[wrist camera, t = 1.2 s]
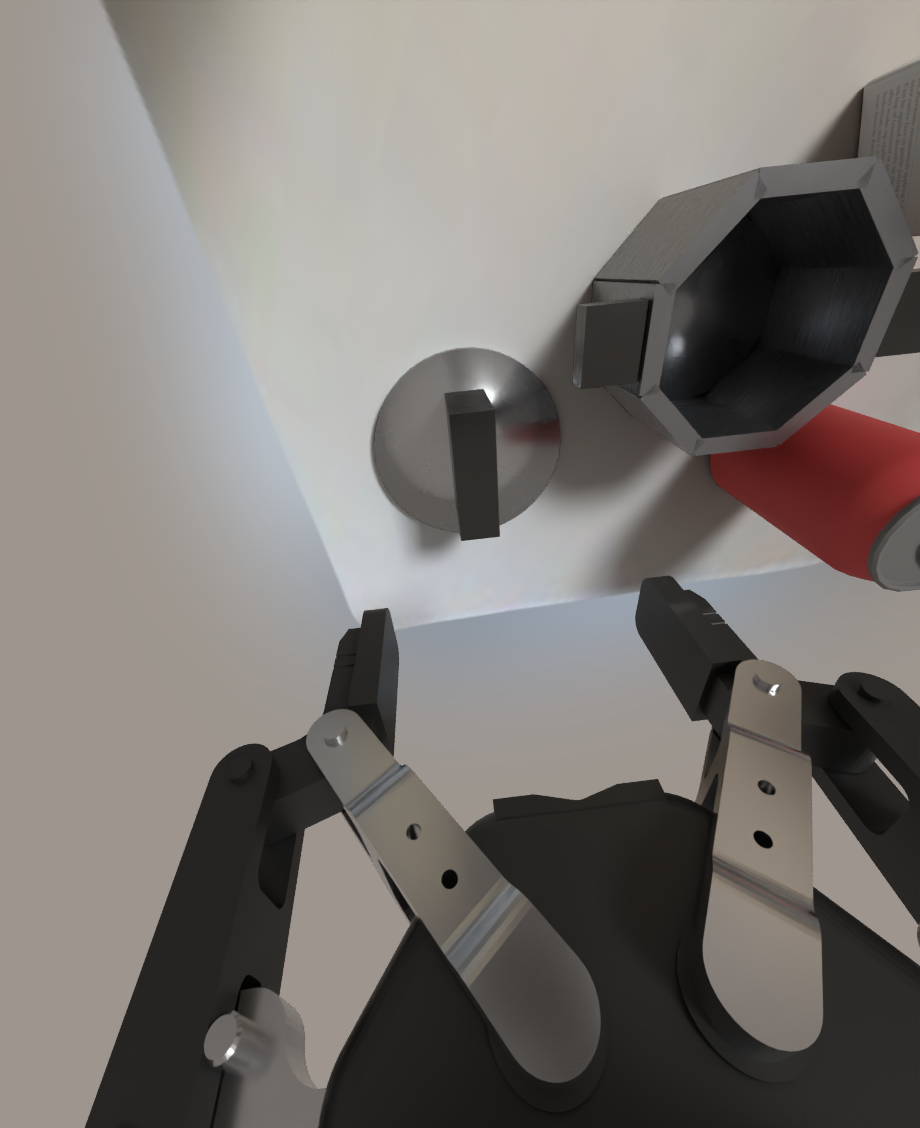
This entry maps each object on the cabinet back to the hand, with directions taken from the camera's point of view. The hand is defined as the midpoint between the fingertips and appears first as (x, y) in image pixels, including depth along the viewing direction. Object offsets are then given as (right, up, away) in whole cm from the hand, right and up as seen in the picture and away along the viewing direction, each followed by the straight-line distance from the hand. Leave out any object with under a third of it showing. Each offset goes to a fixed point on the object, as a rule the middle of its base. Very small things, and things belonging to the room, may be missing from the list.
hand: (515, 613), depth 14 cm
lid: (-1, +9, +13) cm, 16 cm away
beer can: (+17, +9, +14) cm, 24 cm away
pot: (+10, +15, +9) cm, 20 cm away
